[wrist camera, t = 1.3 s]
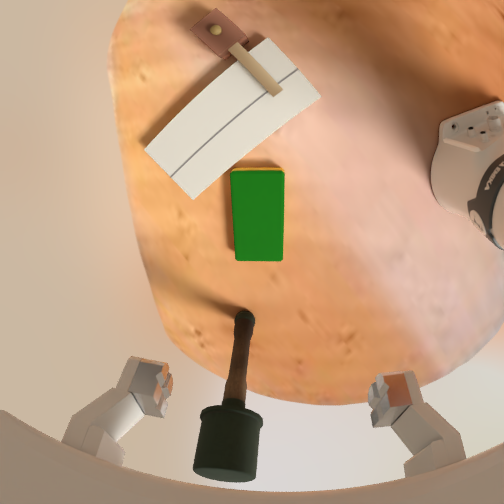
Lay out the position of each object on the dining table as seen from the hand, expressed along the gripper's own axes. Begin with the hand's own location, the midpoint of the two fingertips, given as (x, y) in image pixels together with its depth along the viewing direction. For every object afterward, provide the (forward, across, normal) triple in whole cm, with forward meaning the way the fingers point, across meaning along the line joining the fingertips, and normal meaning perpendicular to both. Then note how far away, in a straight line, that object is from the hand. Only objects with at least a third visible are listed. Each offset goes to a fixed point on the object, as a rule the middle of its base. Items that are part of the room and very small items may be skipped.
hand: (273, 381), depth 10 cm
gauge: (+32, +4, -14) cm, 36 cm away
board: (+32, +6, -6) cm, 34 cm away
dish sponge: (+33, +2, +8) cm, 34 cm away
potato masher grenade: (+32, +4, +28) cm, 43 cm away
